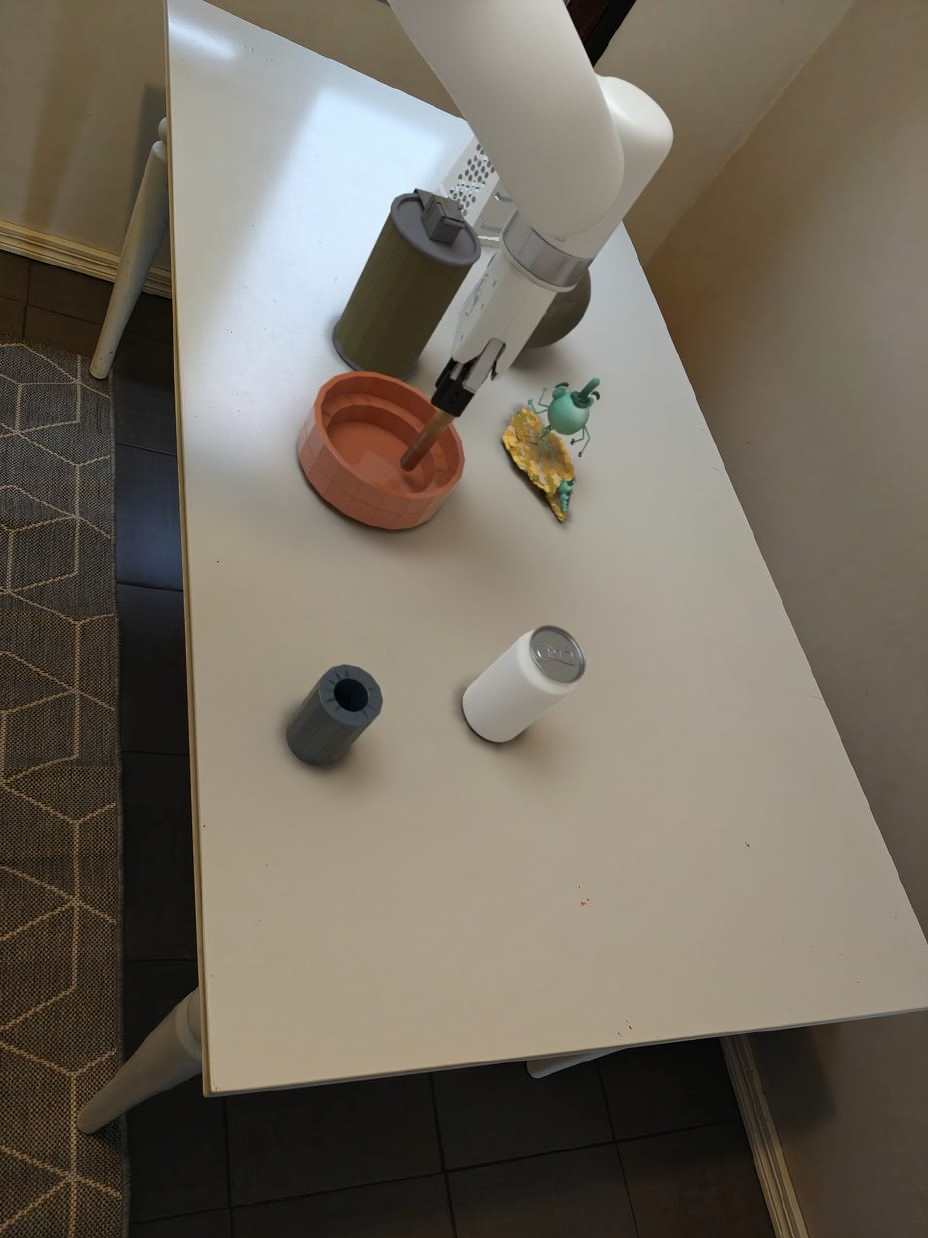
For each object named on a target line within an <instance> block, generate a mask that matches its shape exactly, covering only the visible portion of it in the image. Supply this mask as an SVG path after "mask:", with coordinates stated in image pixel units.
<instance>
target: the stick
mask: <svg viewBox="0 0 928 1238" xmlns="http://www.w3.org/2000/svg"><path fill="white" fill-rule="evenodd" d="M472 367H473V366H471V368H470V370H471V369H472ZM489 375H490V373H489V374H488V376H487V377H486V378H485V380H484V381H483V383H482V384H481V386H482V385H483V384H484V383H485V381H486V380H487V379H488V377H489ZM481 386H480V387H479V389H480V388H481ZM456 418H457V417H454V416H452V415H450V414H449V413H447V412H445V411H443V410H441V409H438V410H437V412H436V413H435V414H434V416H433V417H432V418H431V420H430V421H429V422H428V423H427V425H426V426H425V427H424V429H423V430H422V431H421V433H420V434H419V435H418V436H417V438H416V439H415V440H414V442H413V443H412V444H411V446H410V447H409V448H408V449H407V451H406V452H405V453H404V455H403V456H402V457H401V459H400V462H399V464H400V467H401V469H402V470H404V471H406V472H410V471H412V470H414V469H415V468H416V466H417V465H418V464H419V463H420V461H421V460H422V459H423V458H424V456H425V455H426V454H427V453H428V451H429V450H430V449H431V448H432V446H433V445H434V444H435V443H436V441H437V440H438V439H439V438H440V436H441V435H442V434H443V433H444V431H445V430H446V429H447V428H448V426H449V425H450V424H451V423H453V421H454V420H455V419H456Z"/></svg>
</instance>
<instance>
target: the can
mask: <svg viewBox="0 0 928 1238" xmlns="http://www.w3.org/2000/svg"><path fill="white" fill-rule="evenodd" d="M585 655H586V654H585V653H584V650H583V648H582V646H581V644H580V643H579V641H578V640H577V638H576V637H574V635H572V634H571V633H570V632H569V631H568V630H567V629H564V628H562V627H560V626H557V625H553V624H544V625H540V626H539V627H537V628H536V629H532V630H529V631H527V632H525V633H524V634H523V635H522V636H521V637H519V638H518V639H517V640H516V641H515V642H514V643H512V644H511V646H509V647H508V648H507V649H506V650H505V651H504V652H503V653H502V654H501V655H500V656H499V657H498V658H497V659H496V660H495V661H493V663H492V664H490V666H488V667H487V668H486V669H485V670H484V671H483V672H482V673H481V674H480V675H479V676H478V677H477V678H476V679H475V680H473V682H472V683H471V684H470V685H469V686H468V687H467V688H466V690H465V691H464V694H463V697H462V709H463V713H464V717H465V718H466V721H467V723H468V725H469V726H470V727H471V729H472V730H473V731H474V732H475V733H476V734H477V735H479V736H481V737H482V738H484V739H486V740H488V741H491V742H494V743H506V742H508V741H511V740H513V739H514V738H515V737H517V736H518V735H520V733H522V732H523V731H525V730H526V729H527V728H528V727H530V726H531V725H532V724H533V723H535V722H536V721H537V720H538V719H540V718H541V717H542V716H544V715H545V714H546V713H547V712H548V711H550V710H551V709H553V707H556V705H557V704H559V703H560V702H561V701H563V700H564V699H566V697H567V696H568V695H570V694H571V693H572V692H573V691H574V690H575V689H576V688H577V686H578V684H579V682H580V679H582V677H583V676H584V674H585V672H586V667H587V660H586V656H585Z"/></svg>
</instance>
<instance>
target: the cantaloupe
mask: <svg viewBox="0 0 928 1238" xmlns="http://www.w3.org/2000/svg"><path fill="white" fill-rule="evenodd" d="M498 251H499V249H498V250H497V251H496V252H495V253H494V255H492V257H491V258H490V260H489V262H488V263H487V266H486V268H485V270H486V269H487V267H488V266H489V264H490V263H491V261H492V260H493V258H494V257H495V255H496V254H497V252H498ZM591 278H592V277H591V272H590V270H589V268H588V269H587V270H586V272H585V273H584V275H583V276H582V278H581V279H580V280H579V282H578V283H577V285H576V286H575V287H574V289H572V290H571V291H568V292H557V294H556V296H555V297H554V299H553V301H552V302H551V304H550V306H549V307H548V309H547V310H546V313H545V315H543V317H542V318H541V320H540V322H539V323H538V325H537V326H536V328H535V329H534V331H533V333H532V334H531V336H530V337H529V339H528V340H527V342H526V343H525V345H524V346H523V348H522V349H541V348H544V347H549V346H552V345H554V344H556V343H558V342H559V341H561V340H563V339H564V338H565V337H566V336H568V335H569V334H570V333H571V332H572V331H573V330H574V329H575V328H576V327H577V326H578V325H579V324H580V322H581V321H582V320H583V318H584V316H585V315H586V312H587V310H588V308H589V306H590V303H591V299H592V279H591Z"/></svg>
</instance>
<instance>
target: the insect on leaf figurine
mask: <svg viewBox="0 0 928 1238" xmlns="http://www.w3.org/2000/svg"><path fill="white" fill-rule="evenodd" d="M600 383H601V381H600V379H599V378H598V377H593V378H592V379H591V380H590V381H589V382H588V383H586V385H585V386H584V387H583V388H582V389H581V390H580V391H577V390H574V391H572V390H569V391H567V388H569V386H570V383H568V382H567V381H563V382H560V383H557V384H555V386H554V389H553V391H552V392H551V395H552V400H551V401H550V404H549V405H547V404H544V403H543V404H542V403H541V402H542V399H543V397H544V394H545V392H547V391H548V389H549V387H547V386H543V388H542V389H541V392H542V393H541V395H540V397H539V400H538V402H537V405H538V406H541V407H544V408H545V409H543V410H539V411H537V410H536V409H535V407H534V405H533V402H534V398H529V399H528V400H527V405H528V406H529V405H530V406H531V408H532V410H531V411H529V410H527V409H525V408H524V407H523V408H521V409H519V410H518V414H517V415H513V416H512V417H511V419H510V421H509V422H508V426H507V428H506V430H505V429H504V431H503V435H502V436H501V439H502V441H503V443H504V445H505V448H506V450H507V451H508V452H509V454H510V455H511V458H512V460H513V461H514V463H515V464H516V465H517V467H518V468H519V469H520V470H523V472H524V473H525V474H527V475H528V478H529V479H530V480H531V481H532V483H533V484H534V485H536V486H537V487H538V489H540V490H543V491H544V492H545V494H544V497H543V498H546V500H548V503H549V504H550V508H551V510H552V511H553V513H554V515H556V517H557V519H558V520H559V521H560V522H564V520H565V519H566V517H567V515H568V513H567V512H568V509H569V508H570V503H571V499H572V498H571V496H572V494H573V495H574V492H573V489H574V488H575V483H577V480H576V479H577V477H576V476H575V472H574V470H575V466H574V464H573V462H572V457H571V452H570V450H569V448H567V447H566V446H565V441H564V440H562V438H561V437H560V436H558V435H556V434H555V432H556V433H557V434H560V435H562V436H563V435H564V436H571V435H574V434H577V433H578V432H580V431H581V430H582V438H579V439H575V438H571V440H570V446H573V445H574V444H576V443H578V442H581V441H583V440H585V433H586V435H587V437H588V439H587V441H586V443H585V444H584V446H583V448H582V449H581V451H579V452H578V455H577V457H578V458H582V456H583V453H584V451H585V449H586V447H587V445H588V444H589V442H590V440H591V436H590V433H589V431H588V428H587V426H586V424H587V423H588V420H589V418H590V408H591V407H592V405H593V404H594V403H595V399H594V397H592V396H595V398H596V401H597V402H598V401H600V399H601V395H600V392H599V391H597V390H595V389H597V388H598V386H599V385H600ZM589 395H591V396H589ZM544 412H547V421H548V425H547V426H546V425H545V424H546V423H545V422H542V421H541V420H540V419H539V416H538V415H540V414H542V413H544ZM558 492H560V495H559V494H558Z"/></svg>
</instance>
